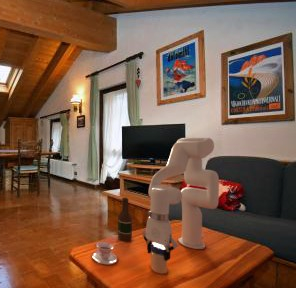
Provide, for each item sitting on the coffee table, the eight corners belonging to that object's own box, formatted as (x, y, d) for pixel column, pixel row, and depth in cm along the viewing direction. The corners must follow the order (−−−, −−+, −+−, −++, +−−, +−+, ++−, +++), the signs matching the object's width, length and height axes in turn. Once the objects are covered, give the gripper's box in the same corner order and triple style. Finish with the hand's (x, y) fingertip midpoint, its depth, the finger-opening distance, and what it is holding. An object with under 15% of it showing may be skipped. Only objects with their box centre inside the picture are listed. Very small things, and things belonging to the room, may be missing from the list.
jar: (156, 262, 101) (156, 242, 101) (170, 269, 96) (170, 248, 95) (148, 267, 98) (147, 247, 97) (161, 275, 92) (161, 253, 92)
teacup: (119, 255, 108) (119, 243, 108) (114, 267, 97) (115, 254, 97) (95, 250, 113) (95, 238, 113) (89, 261, 103) (89, 248, 102)
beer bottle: (132, 242, 122) (133, 200, 122) (118, 241, 124) (118, 199, 123) (130, 236, 130) (131, 197, 129) (117, 235, 131) (117, 196, 131)
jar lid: (168, 248, 97) (168, 244, 97) (166, 256, 91) (166, 251, 91) (152, 244, 101) (152, 240, 101) (148, 251, 95) (148, 247, 95)
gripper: (137, 212, 101) (135, 250, 100) (176, 223, 87) (174, 267, 87) (145, 209, 105) (144, 246, 105) (183, 220, 92) (182, 262, 92)
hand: (158, 255), depth 96 cm, fingers closed on jar lid, 7 cm apart
